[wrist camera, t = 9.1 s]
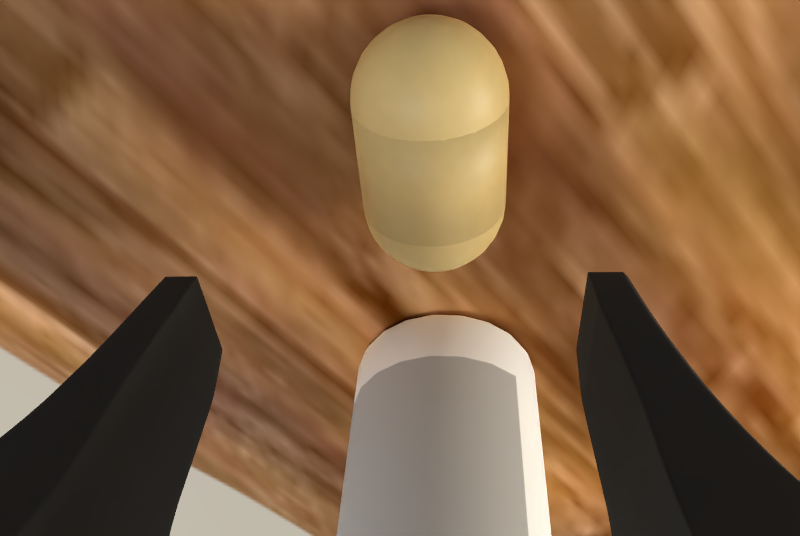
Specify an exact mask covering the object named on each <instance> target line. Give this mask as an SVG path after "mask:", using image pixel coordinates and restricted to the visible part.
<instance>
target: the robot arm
mask: <svg viewBox="0 0 800 536" xmlns="http://www.w3.org/2000/svg"><path fill="white" fill-rule="evenodd" d="M576 350H577V360H578V369H579V379H580V388H581V396H582V402H583V407H584V411H585V416H586V420H587V425H588V429H589V433H590V438H591V442H592V446H593V451H594V455H595V459H596V463H597V468H598V472H599V476H600V480H601V485H602V489H603V493H604V498H605V502H606V506H607V511H608V516H609V521H610V526H611V532H612V536H800V481H799V480H797V479H796V478H795V477H794V476H793V475H792V474H791V473H789V472H788V471H787V470H786V469H785V468H784V467H783V466H782V465H781V464H780V463H779V462H778V461H777V460H776V459H775V458H774V457H773V456H771V455H770V454H769V453H768V452H767V451H766V450H765V449H764V448H763V447H762V446H761V445H760V444H759V443H758V442H757V441H756V440H755V439H754V438H753V437H752V436H751V435H750V434H749V433H748V432H747V431H746V430H745V429H744V428H743V427H742V426H741V424H740V423H739V422H738V421H737V420H736V419H735V418H734V417H733V416H732V415H731V414H730V413H729V411H728V410H727V409H726V408H725V407H724V406H723V405H722V404H721V402H720V401H719V400H718V399H717V398H716V397H715V396H714V394H713V393H712V392H711V391H710V390H709V389H708V387H707V386H706V385H705V384H704V383H703V381H702V380H701V379H700V378H699V377H698V375H697V374H696V373H695V372H694V370H693V369H692V368H691V367H690V365H689V364H688V363H687V361H686V360H685V359H684V357H683V356H682V355H681V354H680V352H679V351H678V350H677V348H676V347H675V346H674V344H673V343H672V342H671V340H670V339H669V338H668V336H667V335H666V334H665V332H664V331H663V329H662V328H661V327H660V325H659V324H658V322H657V321H656V319H655V318H654V316H653V315H652V314H651V312H650V311H649V309H648V308H647V306H646V305H645V303H644V302H643V300H642V298H641V297H640V295H639V294H638V292H637V291H636V289H635V287H634V286H633V284H632V283H631V281H630V279H629V278H628V276H627V275H625V274H624V273H623V272H588V276H587V283H586V289H585V296H584V302H583V309H582V316H581V322H580V329H579V335H578V342H577V349H576ZM221 354H222V347H221V344H220V341H219V339H218V336H217V333H216V330H215V327H214V324H213V321H212V318H211V316H210V313H209V310H208V307H207V304H206V301H205V298H204V295H203V293H202V290H201V287H200V284H199V281H198V278H197V277H165V278H164V279H163V280H162V281H161V282H160V283H159V284H158V285H157V286H156V287H155V289H154V290H153V291H152V292H151V293H150V294H149V295H148V296H147V297H146V298H145V299H144V300H143V301H142V302H141V304H140V305H139V306H138V307H137V308H136V309H135V310H134V311H133V312H132V313H131V314H130V315H129V317H128V318H127V319H126V320H125V321H124V322H123V323H122V324H121V325H120V326H119V327H118V328H117V329H116V331H115V332H114V333H113V334H112V335H111V336H110V337H109V338H108V339H107V340H106V341H105V342H104V343H103V344H102V345H101V346H100V347H99V348H98V349H97V350H96V351H95V352H94V353H93V354H92V356H91V357H90V358H89V359H88V360H87V361H86V362H85V363H84V364H83V365H82V366H81V367H79V368H78V369H77V370H76V371H75V372H74V373H73V374H72V375H71V376H70V377H69V378H68V379H67V380H66V381H65V382H64V383H63V384H62V385H61V386H60V387H59V388H58V389H56V390H55V391H54V393H52V394H51V395H50V396H49V397H48V398H47V399H46V400H45V401H44V402H42V403H41V404H40V405H39V406H38V407H37V408H36V409H34V410H33V411H32V412H31V413H30V414H29V415H28V416H26V417H25V418H24V419H23V420H22V421H20V422H19V423H18V424H17V425H15V426H14V427H13V428H12V429H10V430H9V431H8V432H7V433H6V434H4V435H3V436H2V437H1V438H0V536H169V535H170V530H171V526H172V523H173V519H174V516H175V512H176V509H177V505H178V502H179V499H180V496H181V493H182V490H183V487H184V484H185V481H186V478H187V475H188V472H189V469H190V467H191V464H192V461H193V458H194V455H195V452H196V449H197V446H198V443H199V440H200V437H201V434H202V431H203V428H204V425H205V422H206V419H207V416H208V413H209V410H210V406H211V403H212V400H213V396H214V391H215V386H216V382H217V377H218V371H219V365H220V360H221Z"/></svg>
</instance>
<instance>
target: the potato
mask: <svg viewBox="0 0 800 536" xmlns="http://www.w3.org/2000/svg"><path fill="white" fill-rule="evenodd" d="M509 97H510V96H509V82H508V78H507V75H506V72H505V68H504V65H503V62H502V60H501V58H500V56H499V55H498V53H497V51H496V49H495V48H494V47H493V45H492V44H491V43H490V42H489V41H488V40H487V39H486V38H485V37H484V35H483V34H482V33H480V32H479V31H478V30H476V29H475V28H473V27H472V26H470V25H468V24H467V23H465V22H463V21H461V20H458V19H455V18H451V17H447V16H443V15H436V14H425V15H417V16H412V17H409V18H406V19H403V20H401V21H398V22H396V23H394V24H392V25H390V26H388V27H387V28H386V29H384V30H383V31H382V32H381V33H380V34H378V35H377V36H376V37H375V38H374V39H373V40H372V41H371V42H370V43H369V45H368V46H367V47H366V49H365V50H364V51H363V53H362V54H361V57H360V59H359V61H358V63H357V66H356V68H355V70H354V73H353V77H352V82H351V87H350V108H351V116H352V124H353V131H354V139H355V147H356V154H357V162H358V170H359V178H360V185H361V193H362V201H363V208H364V214H365V218H366V222H367V225H368V228H369V230H370V232H371V234H372V236H373V237H374V239H375V241H376V242H377V243H378V245H379V246H380V247H381V248H382V249H383V250H384V251H385V252H386V253H387V254H388V255H389V256H390V257H391V258H393V259H394V260H396V261H398V262H400V263H401V264H403V265H405V266H407V267H410V268H413V269H416V270H421V271H429V272H439V271H447V270H452V269H456V268H458V267H461V266H463V265H465V264H467V263H469V262H470V261H472V260H474V259H475V258H477V257H478V256H479V255H480V254H482V253H483V252H484V251H485V250H486V248H487V247H488V246H489V245H490V243H491V242H492V241H493V240H494V238H495V237H496V235H497V233H498V230H499V228H500V226H501V223H502V221H503V217H504V211H505V205H506V179H507V152H508V125H509Z"/></svg>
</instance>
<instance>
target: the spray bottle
mask: <svg viewBox="0 0 800 536" xmlns="http://www.w3.org/2000/svg"><path fill="white" fill-rule="evenodd" d="M337 536H551V527H550V518H549V508H548V499H547V489H546V479H545V470H544V460H543V451H542V441H541V432H540V422H539V413H538V403H537V394H536V384H535V374H534V370H533V367H532V364H531V361H530V359H529V356H528V354H527V352H526V351H525V350H524V348H523V347H522V346H521V345H520V344H519V343H518V342H517V341H516V340H515V339H514V338H513V337H512V336H511V335H510V334H509V333H507V332H505V331H503V330H502V329H500V328H498V327H496V326H494V325H492V324H491V323H489V322H486V321H482V320H478V319H474V318H470V317H466V316H462V315H429V316H424V317H420V318H415V319H410V320H406V321H404V322H401V323H399V324H397V325H395V326H393V327H391V328H389V329H387V330H385V331H384V332H383V333H382V334H381V335H380V336H378V337H377V338H376V339H375V340H374V341H373V342H372V343H371V344H370V345H369V347H368V348H367V349H366V351H365V353H364V356H363V358H362V361H361V363H360V366H359V370H358V377H357V385H356V392H355V400H354V408H353V415H352V423H351V430H350V438H349V446H348V453H347V461H346V469H345V476H344V484H343V491H342V499H341V507H340V514H339V522H338V529H337Z"/></svg>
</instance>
